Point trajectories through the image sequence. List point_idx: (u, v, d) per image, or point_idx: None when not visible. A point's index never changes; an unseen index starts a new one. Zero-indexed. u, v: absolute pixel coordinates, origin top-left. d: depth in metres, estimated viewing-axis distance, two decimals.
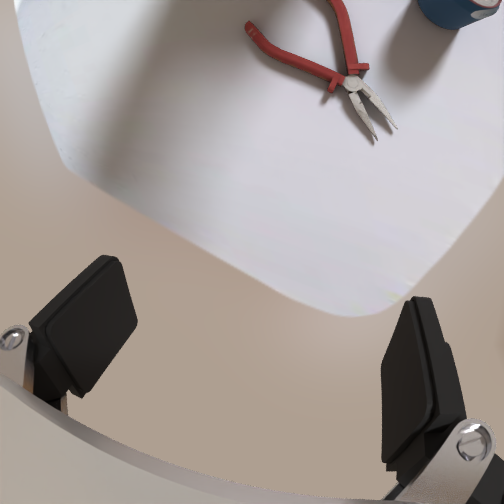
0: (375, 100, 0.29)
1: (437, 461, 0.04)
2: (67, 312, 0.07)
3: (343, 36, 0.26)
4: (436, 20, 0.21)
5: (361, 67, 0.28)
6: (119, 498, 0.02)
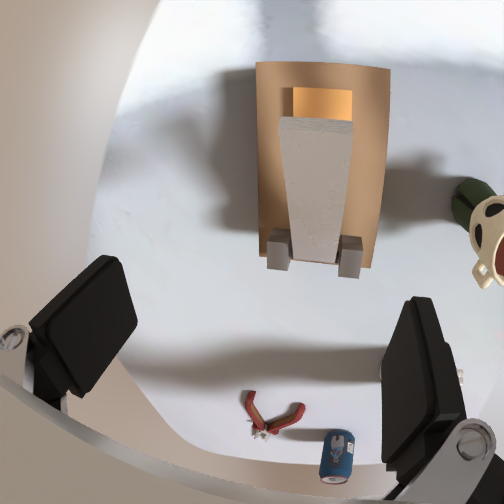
0: (266, 437, 0.62)
1: (437, 461, 0.04)
2: (67, 312, 0.07)
3: (280, 426, 0.57)
4: None
5: (273, 433, 0.59)
6: (119, 498, 0.02)
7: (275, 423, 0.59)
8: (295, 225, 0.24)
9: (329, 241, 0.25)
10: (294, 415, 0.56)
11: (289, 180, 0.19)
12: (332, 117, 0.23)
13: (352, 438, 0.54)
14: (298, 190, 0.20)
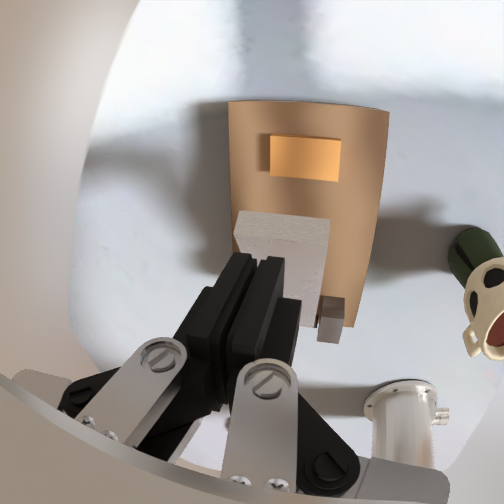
0: None
1: (237, 414, 0.05)
2: (228, 317, 0.07)
3: None
4: None
5: None
6: (119, 498, 0.02)
7: None
8: None
9: (305, 315, 0.23)
10: None
11: None
12: (315, 172, 0.21)
13: None
14: None
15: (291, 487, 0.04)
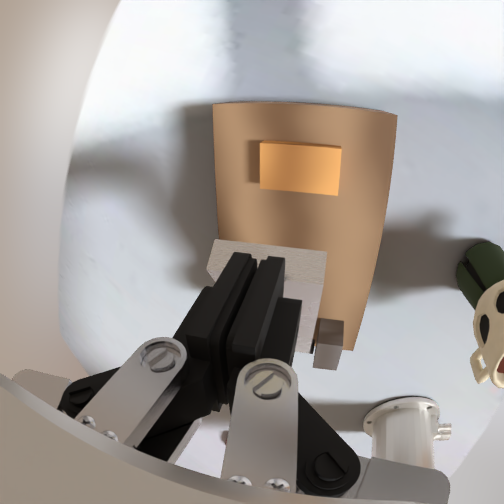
0: None
1: (238, 414, 0.05)
2: (228, 317, 0.07)
3: None
4: None
5: None
6: (119, 498, 0.02)
7: None
8: None
9: (300, 343, 0.20)
10: None
11: None
12: (312, 185, 0.19)
13: None
14: None
15: (291, 487, 0.04)
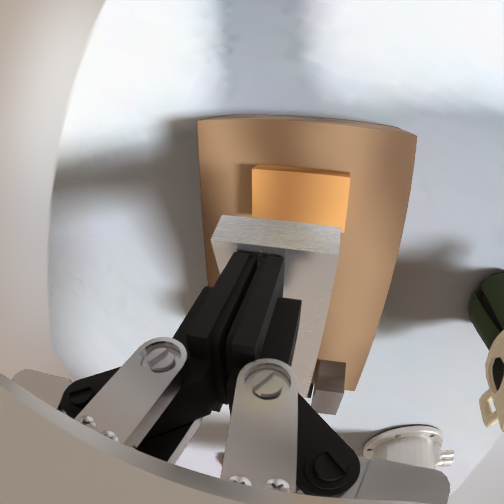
0: None
1: (237, 414, 0.05)
2: (228, 317, 0.07)
3: None
4: None
5: None
6: (119, 498, 0.02)
7: None
8: None
9: (299, 379, 0.18)
10: None
11: None
12: (314, 220, 0.16)
13: None
14: None
15: (291, 487, 0.04)
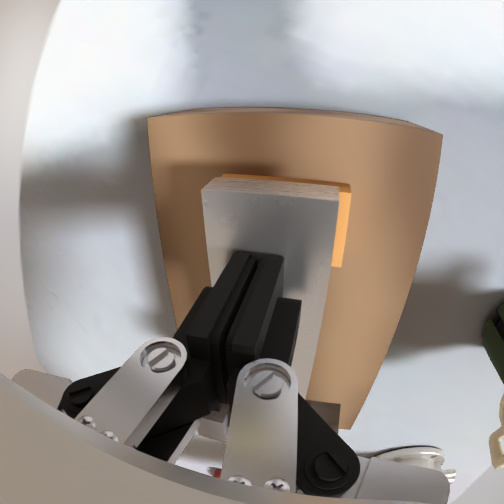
0: None
1: (237, 414, 0.05)
2: (228, 317, 0.07)
3: None
4: None
5: None
6: (119, 498, 0.02)
7: None
8: None
9: None
10: None
11: None
12: None
13: None
14: None
15: (291, 487, 0.04)
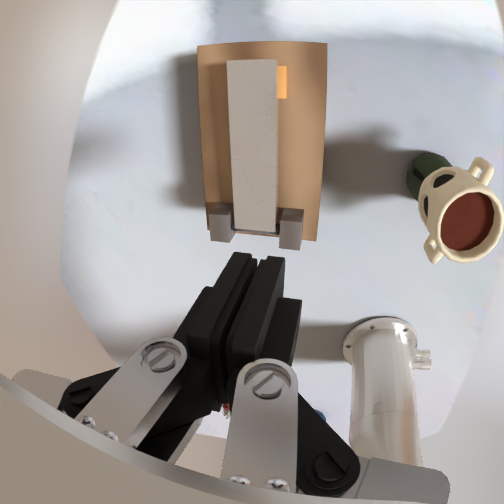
0: None
1: (238, 414, 0.05)
2: (228, 317, 0.07)
3: None
4: None
5: None
6: (119, 498, 0.02)
7: None
8: (236, 169, 0.27)
9: (267, 192, 0.27)
10: None
11: (232, 109, 0.23)
12: None
13: (323, 418, 0.58)
14: (238, 120, 0.24)
15: (291, 487, 0.04)
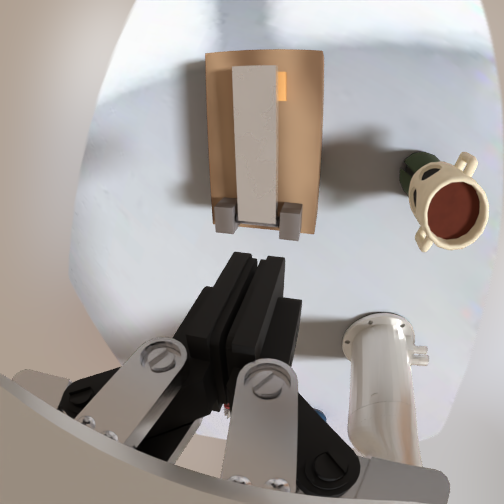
0: None
1: (237, 414, 0.05)
2: (228, 317, 0.07)
3: None
4: None
5: None
6: (119, 498, 0.02)
7: None
8: (240, 165, 0.29)
9: (268, 185, 0.30)
10: None
11: (236, 109, 0.26)
12: None
13: (323, 417, 0.59)
14: (242, 119, 0.27)
15: (291, 487, 0.04)
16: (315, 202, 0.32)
